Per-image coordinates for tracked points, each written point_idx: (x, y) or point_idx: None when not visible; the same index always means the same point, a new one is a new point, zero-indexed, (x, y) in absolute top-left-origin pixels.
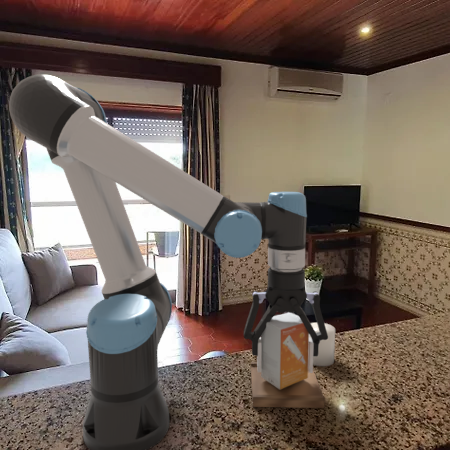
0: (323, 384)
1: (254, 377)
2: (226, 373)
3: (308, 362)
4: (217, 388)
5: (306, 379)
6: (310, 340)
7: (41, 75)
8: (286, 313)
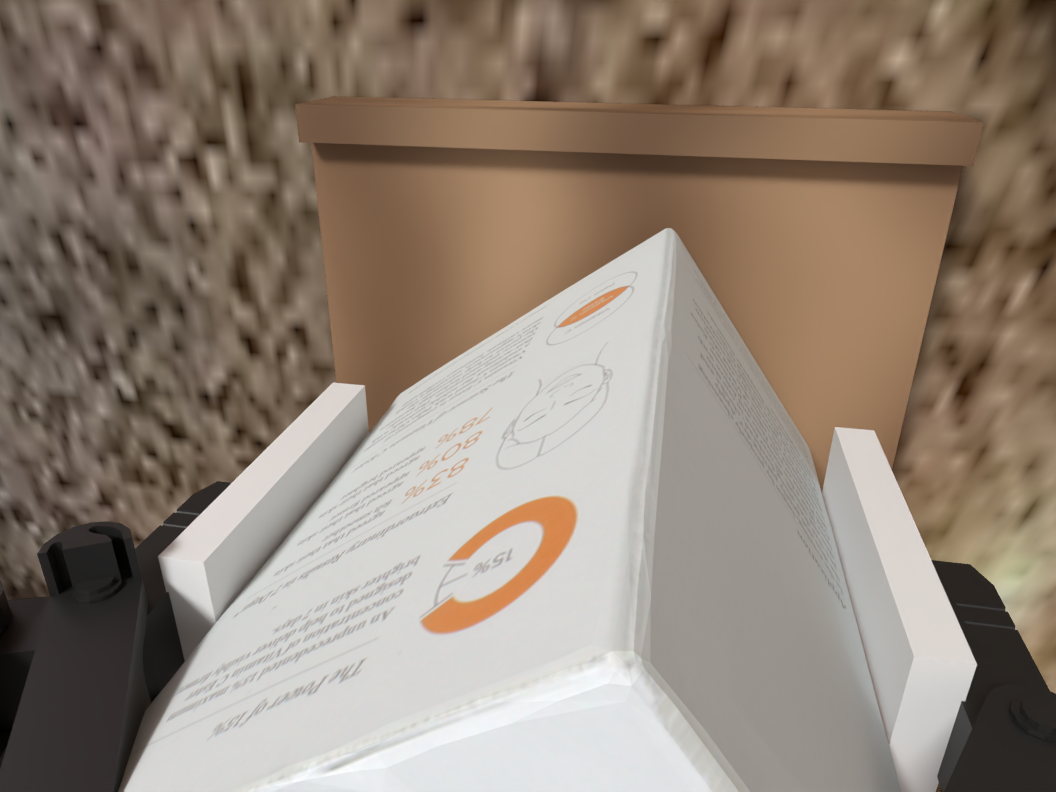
0: (970, 354)
1: (354, 339)
2: (138, 147)
3: (835, 542)
4: (128, 361)
5: (806, 398)
6: (922, 733)
7: None
8: (516, 738)
